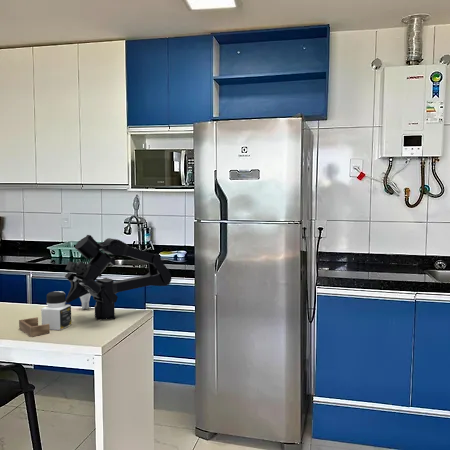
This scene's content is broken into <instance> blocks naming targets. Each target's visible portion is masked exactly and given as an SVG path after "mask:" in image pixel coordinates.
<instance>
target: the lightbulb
mask: <svg viewBox="0 0 450 450" xmlns="http://www.w3.org/2000/svg"><path fill="white" fill-rule="evenodd" d="M88 292H89V291H88ZM91 296H92V295H91V294H90V293H89V294H88V293H87V294H85V295H83V296H81V297H79V299H80V302H81V309H83V310H88V309H89V307H90V299H91Z"/></svg>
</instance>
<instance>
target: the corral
mask: <svg viewBox="0 0 450 450" xmlns="http://www.w3.org/2000/svg"><path fill="white" fill-rule="evenodd" d="M18 324H19V325H18V326H19V328H18V329H19V330H20V331H22V332H23V333H25V334H26V335H27V336H29V337H30V338H32V337H37V336H42V335H47V334H50V332H51V331H50V327H49V324H44V325H42V324H40V325H39V317H37V316H36V317H30V318H23V319H19V320H18Z"/></svg>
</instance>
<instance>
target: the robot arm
mask: <svg viewBox="0 0 450 450" xmlns="http://www.w3.org/2000/svg"><path fill="white" fill-rule="evenodd" d="M74 249H75V250H77V252H78V253H80V254H81V255H82V257H84V258H85V259H86V260H89V259H90V260H89V262H88V263H85V262H82V261H78V262H73V261H68V262H67V265H66V267H65V271H69V272H67V273H66V274H65V275H64V278H65V279H66V280H67V281H69V282H70V288H69V291H68V294H67V296H66V304H69V303H71V302H73V301H74V300H77V299H78V298H79V299H80V297H81V296H83V295H85V294H87V293H88V294H89V293H90V294H91V296H92V297H93V300H94V301H95V305H94V307H93V308H94V318H95V319H96V321H106V320H115V319H116V315H115V314H116V313H115V309H116V308H115V303H117V302H118V298H119V296H118V295H117V293H122V292H125V291H130V290H131V291H132V290H137V289H139V288H144V287H149V286H153V287H154V286H155V287H167V286H168V285H169V286H170V284H171V281H172V274H171V272H169V270H168V267H167V266H166V265H165V263H164V262H163V261H162V259H161V257H160V255H158V254H157V253H155V254H154V253H151V252H148V251H144V250H142V249H139V248H135V247H132V246H130V245H128V244H127V243H126V242H124V241H122V240H120V239H116V238H110V237H109V238H105V240H103V241H102V242H97V241H96V239H94V237H93V236H92V235H90V234H86V236H85V237H83V238H81V239H80V240H78V241H77V243H76V244H75V246H74ZM110 255H114V256H124V257H129V258H131V259H135V260H138V261H142V262H145V263H147V265H148V273H147V274H145V275H139V276H135V277H129V278H125V279H119V280H115V281H114V279H112V278H109V277H103V278H101V277H102V276H103V274H102V273H103V272H104V270H105V269H106V268H107V267H108V265H111V266H116V261H115V260H116V258H115V257H113V256H110ZM98 277H100V279H98ZM88 291H89V292H88Z"/></svg>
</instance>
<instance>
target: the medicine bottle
mask: <svg viewBox="0 0 450 450" xmlns="http://www.w3.org/2000/svg"><path fill="white" fill-rule="evenodd" d="M66 298H67V296H66V293H65V292H64V291H62V290H61V291H59V290H58V291H56V290H55V291H50V292H48V293H47V294H46V305H47V306H44V307H42V308H41V309H40V311H41V315H40V316H41V325H44V324H49V327H50V330H51V331H63V329H66V328H68V327H69V326H71V325H72V305H71V304H68V303H67V302H66Z"/></svg>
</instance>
